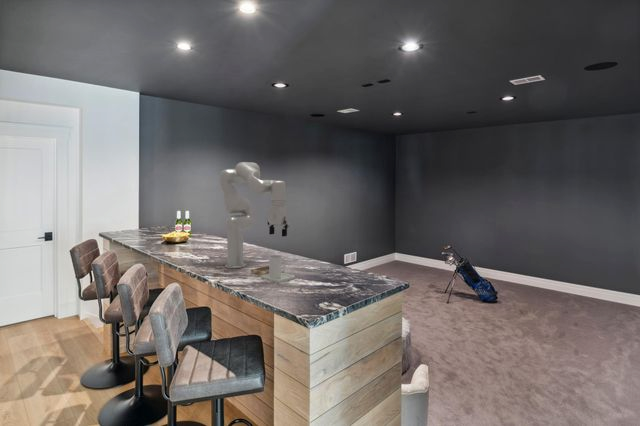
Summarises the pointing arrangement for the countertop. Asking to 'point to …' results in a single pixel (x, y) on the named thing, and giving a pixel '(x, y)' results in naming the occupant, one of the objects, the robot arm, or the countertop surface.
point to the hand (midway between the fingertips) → (278, 235)
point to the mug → (276, 266)
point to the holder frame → (260, 270)
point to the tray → (283, 279)
